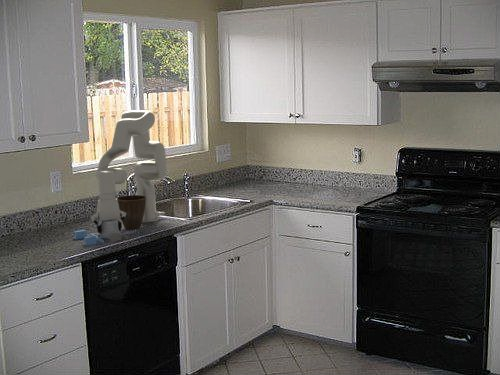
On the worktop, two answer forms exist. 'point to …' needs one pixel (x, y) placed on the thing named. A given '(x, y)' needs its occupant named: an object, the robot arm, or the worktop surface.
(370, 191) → the worktop surface
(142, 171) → the robot arm
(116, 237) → the grey duct
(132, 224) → the plant pot
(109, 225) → the medicine box
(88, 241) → the blue duct
